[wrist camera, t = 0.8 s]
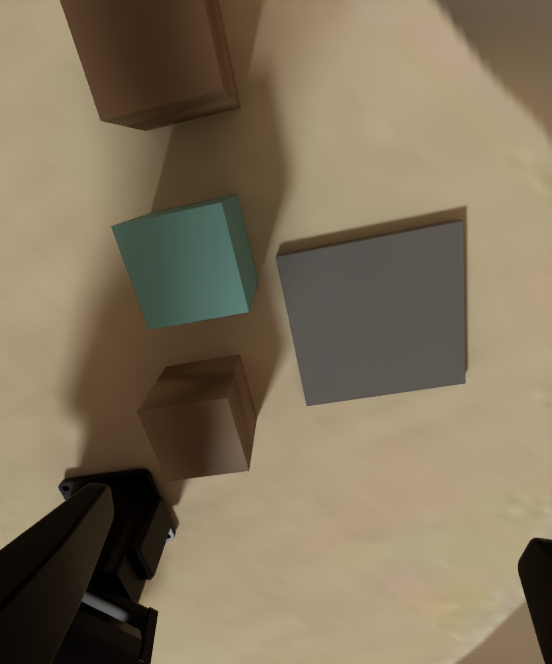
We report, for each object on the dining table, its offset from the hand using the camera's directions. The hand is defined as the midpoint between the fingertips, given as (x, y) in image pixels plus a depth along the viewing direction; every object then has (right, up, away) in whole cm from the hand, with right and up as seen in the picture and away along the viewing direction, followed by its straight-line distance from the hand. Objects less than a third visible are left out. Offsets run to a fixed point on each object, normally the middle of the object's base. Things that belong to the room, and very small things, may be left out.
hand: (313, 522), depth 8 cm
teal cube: (-4, +8, +12) cm, 15 cm away
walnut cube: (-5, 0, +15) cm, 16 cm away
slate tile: (+5, +5, +13) cm, 14 cm away
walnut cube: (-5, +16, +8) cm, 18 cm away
